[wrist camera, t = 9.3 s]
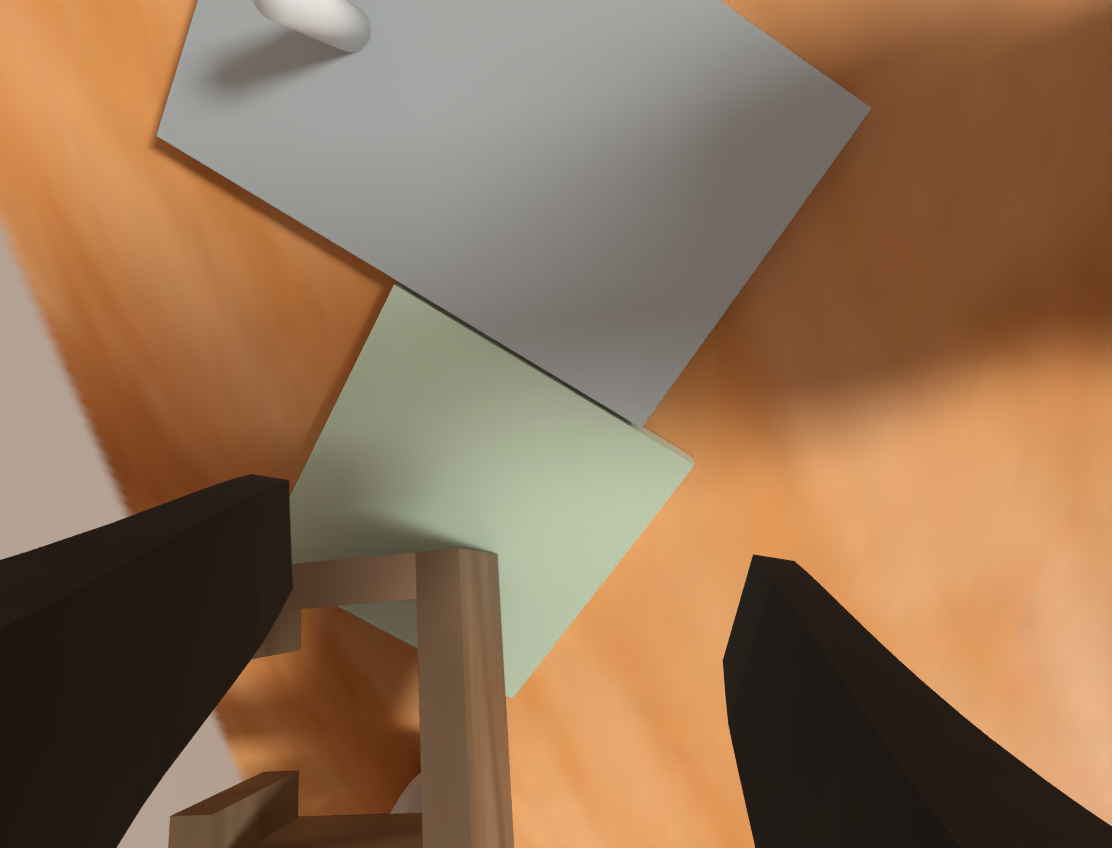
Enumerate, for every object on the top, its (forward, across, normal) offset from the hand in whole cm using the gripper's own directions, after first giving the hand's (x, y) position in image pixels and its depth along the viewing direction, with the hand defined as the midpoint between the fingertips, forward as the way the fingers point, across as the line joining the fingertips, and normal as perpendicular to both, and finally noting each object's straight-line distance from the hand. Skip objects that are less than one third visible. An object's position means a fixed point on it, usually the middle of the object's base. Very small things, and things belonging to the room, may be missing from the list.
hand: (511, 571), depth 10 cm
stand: (+10, +2, -6) cm, 12 cm away
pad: (+10, +3, +5) cm, 11 cm away
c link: (+7, +4, +10) cm, 13 cm away
